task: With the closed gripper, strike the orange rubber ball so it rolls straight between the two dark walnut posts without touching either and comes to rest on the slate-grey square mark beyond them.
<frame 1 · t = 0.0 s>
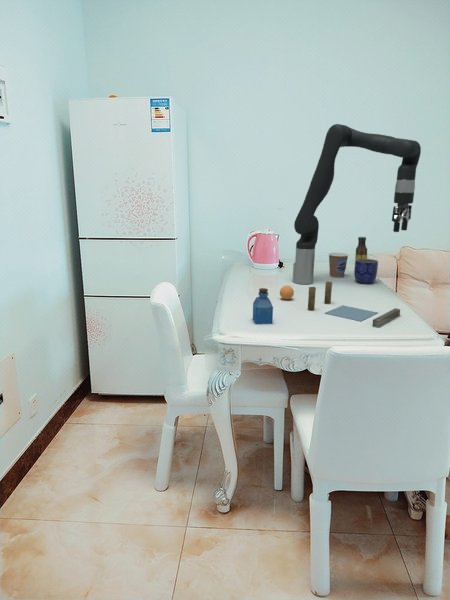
hand: (400, 231, 193), 29 cm above the table, tool pointing down, fingers open, 8 cm apart
sauce bottle: (359, 273, 254), on the table
post 1: (311, 309, 183), on the table
ball: (286, 292, 197), on the table
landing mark: (351, 313, 179), on the table
planter: (364, 282, 232), on the table
perfume bottle: (262, 321, 167), on the table
coffee cup: (336, 276, 244), on the table
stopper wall: (386, 320, 170), on the table
post 2: (327, 303, 192), on the table
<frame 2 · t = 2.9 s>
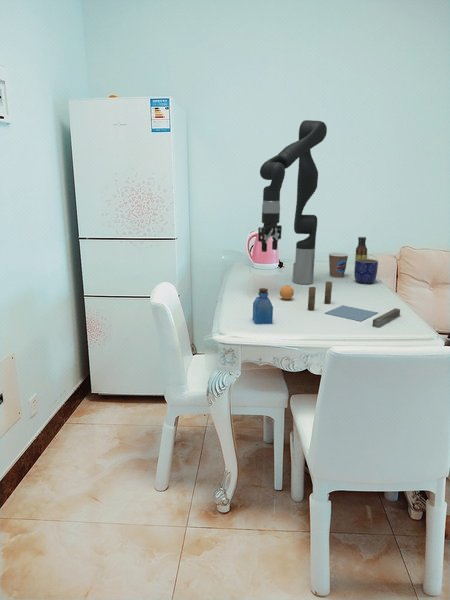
hand: (269, 250, 199), 20 cm above the table, tool pointing down, fingers open, 7 cm apart
nothing on the table moved.
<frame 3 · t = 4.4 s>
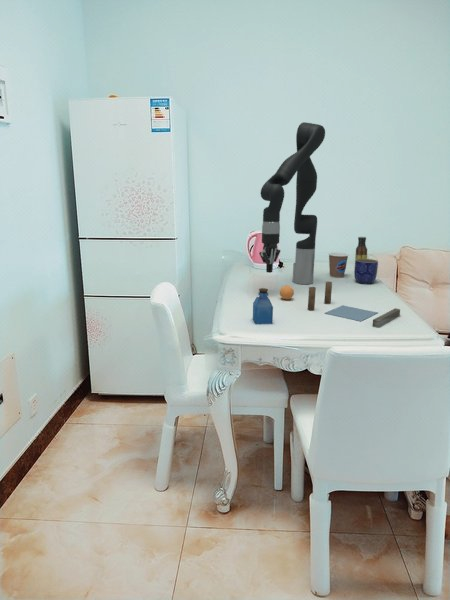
hand: (269, 272, 201), 10 cm above the table, tool pointing down, fingers closed
nothing on the table moved.
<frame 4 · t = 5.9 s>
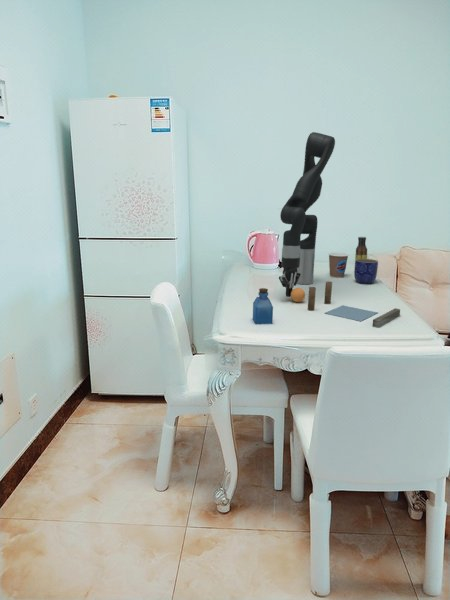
hand: (288, 296, 196), 2 cm above the table, tool pointing down, fingers closed
ball: (297, 295, 193), on the table
everything else where it was.
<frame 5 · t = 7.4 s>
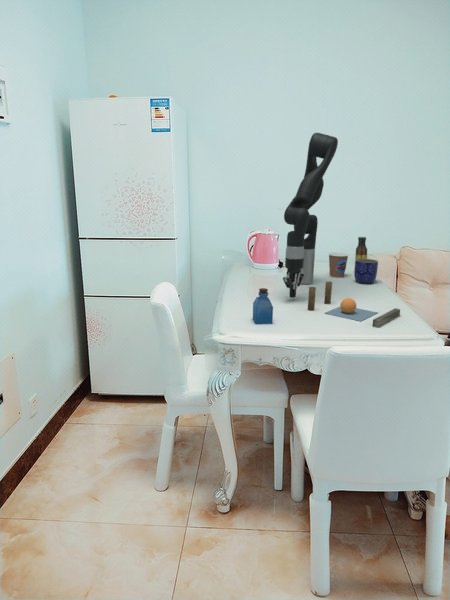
hand: (292, 297, 195), 2 cm above the table, tool pointing down, fingers closed
ball: (348, 305, 178), on the table
everything else where it was.
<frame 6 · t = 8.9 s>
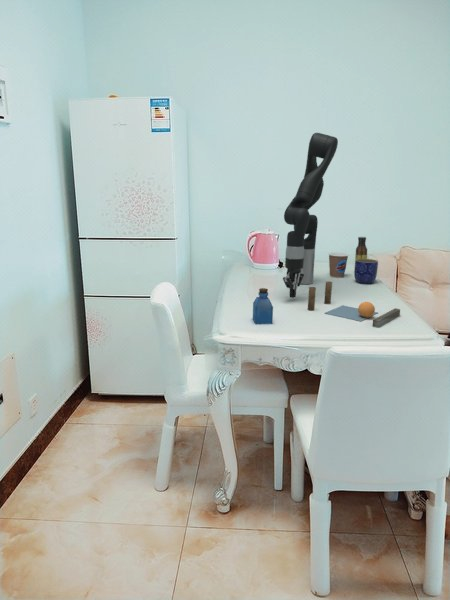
hand: (292, 297, 195), 2 cm above the table, tool pointing down, fingers closed
ball: (366, 309, 173), on the table
everything else where it was.
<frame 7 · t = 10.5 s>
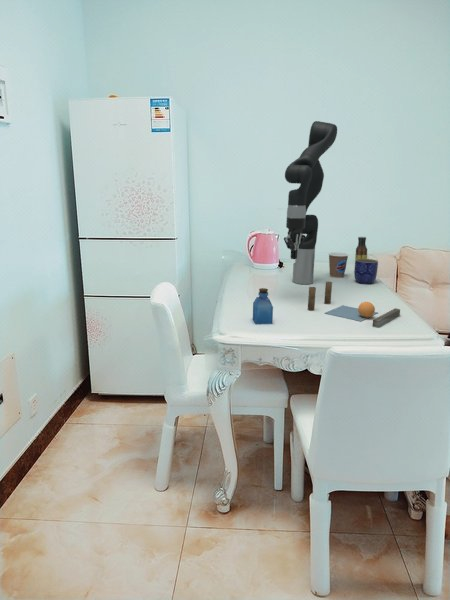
hand: (293, 258, 191), 18 cm above the table, tool pointing down, fingers closed
nothing on the table moved.
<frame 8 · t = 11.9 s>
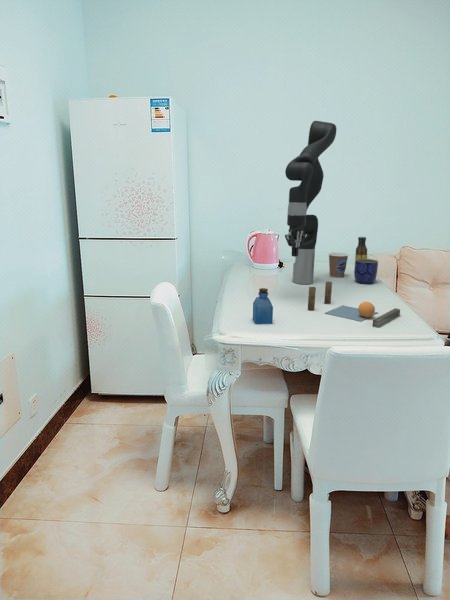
hand: (294, 256, 191), 19 cm above the table, tool pointing down, fingers closed
nothing on the table moved.
at the end: ball 6.5 cm from the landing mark (horizontally); ball never touched post 2; ball never touched post 1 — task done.
